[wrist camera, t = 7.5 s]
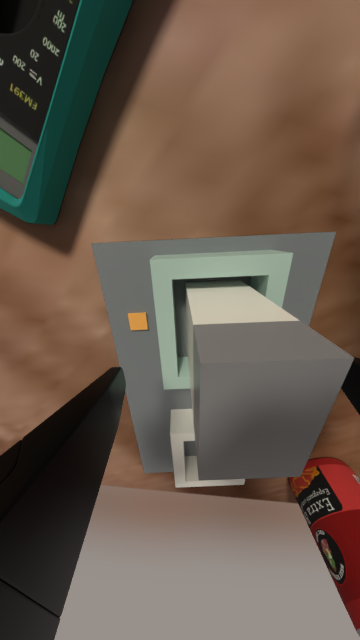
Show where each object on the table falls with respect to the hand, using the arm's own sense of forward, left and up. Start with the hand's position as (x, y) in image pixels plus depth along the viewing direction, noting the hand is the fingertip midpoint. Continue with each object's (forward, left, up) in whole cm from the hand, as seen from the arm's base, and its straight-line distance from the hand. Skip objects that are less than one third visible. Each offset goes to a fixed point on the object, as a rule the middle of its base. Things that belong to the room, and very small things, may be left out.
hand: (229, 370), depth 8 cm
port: (0, 0, -5) cm, 5 cm away
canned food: (-15, +24, -7) cm, 29 cm away
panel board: (0, +7, -7) cm, 10 cm away
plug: (0, 0, -5) cm, 5 cm away
